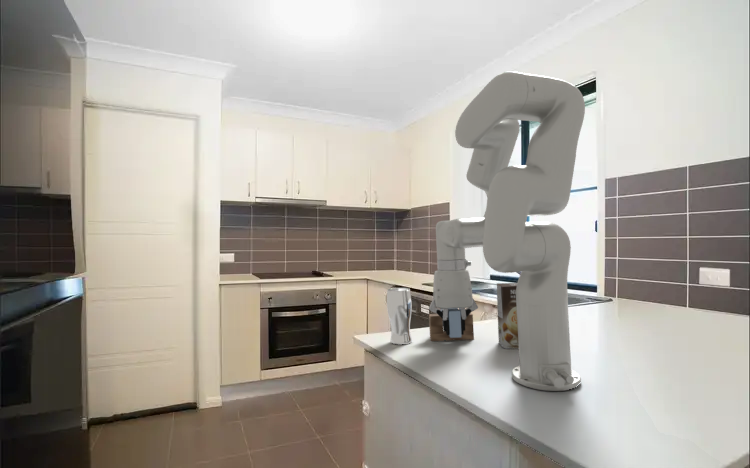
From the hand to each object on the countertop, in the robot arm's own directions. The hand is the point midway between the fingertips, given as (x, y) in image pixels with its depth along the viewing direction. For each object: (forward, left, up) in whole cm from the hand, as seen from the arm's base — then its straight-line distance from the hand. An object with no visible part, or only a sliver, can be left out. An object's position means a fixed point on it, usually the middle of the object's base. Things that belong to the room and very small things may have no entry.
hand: (454, 332), depth 105 cm
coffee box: (-3, -16, -3) cm, 17 cm away
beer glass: (+5, +14, -3) cm, 16 cm away
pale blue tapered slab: (+6, 0, -1) cm, 6 cm away
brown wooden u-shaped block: (+6, 0, -3) cm, 7 cm away
